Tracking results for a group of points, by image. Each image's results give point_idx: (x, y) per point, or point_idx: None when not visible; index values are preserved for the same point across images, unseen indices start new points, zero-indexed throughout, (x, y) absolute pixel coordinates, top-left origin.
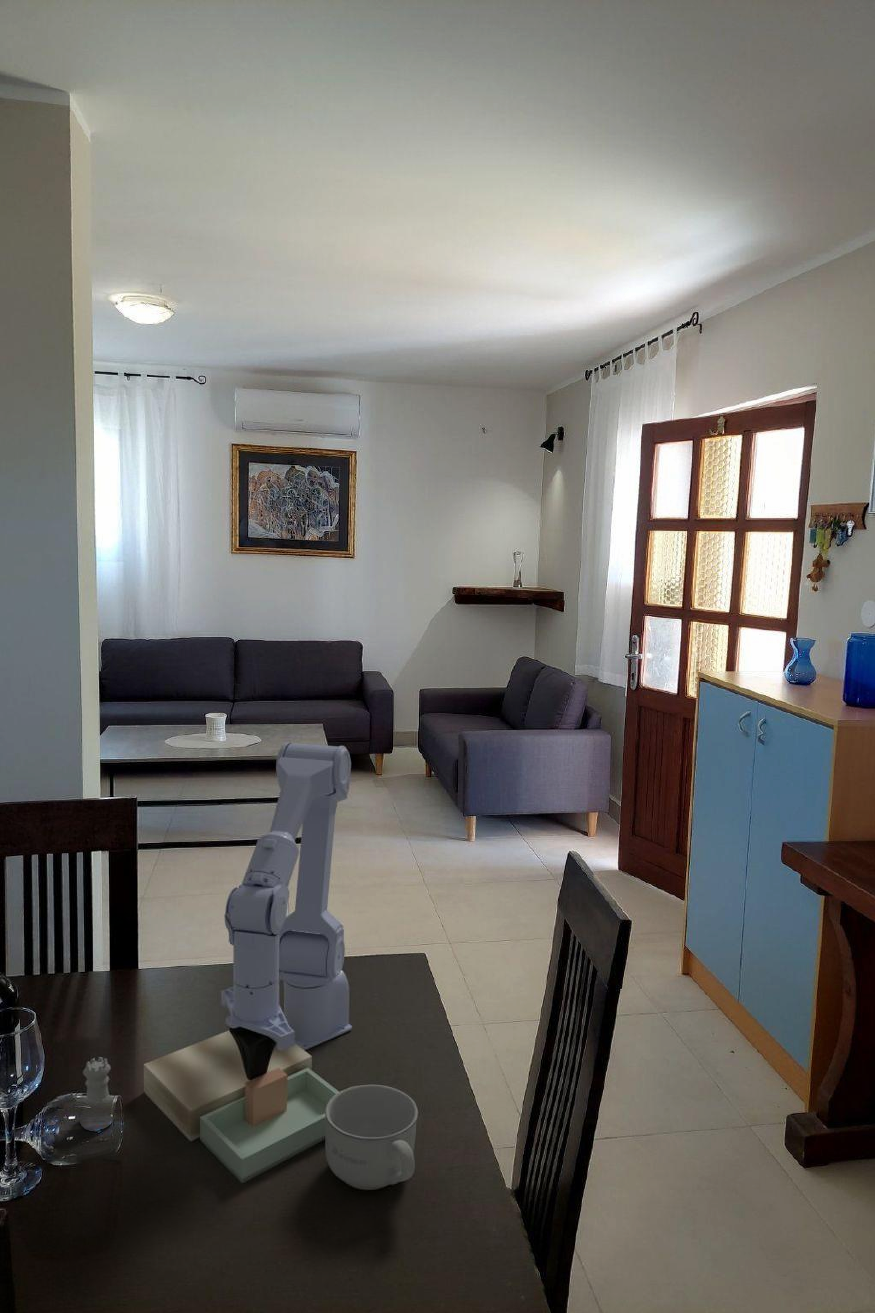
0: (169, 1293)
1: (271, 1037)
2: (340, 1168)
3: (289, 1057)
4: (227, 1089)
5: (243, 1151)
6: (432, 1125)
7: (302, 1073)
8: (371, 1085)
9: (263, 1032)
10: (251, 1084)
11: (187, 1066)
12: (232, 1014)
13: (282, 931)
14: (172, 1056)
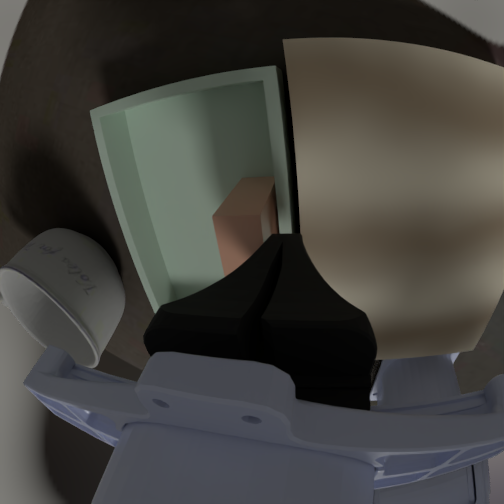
0: (31, 3)
1: (120, 381)
2: (36, 236)
3: None
4: (318, 172)
5: (179, 130)
6: (143, 349)
7: None
8: (95, 360)
9: (68, 387)
10: (240, 225)
11: (483, 148)
12: (289, 444)
13: None
14: None
